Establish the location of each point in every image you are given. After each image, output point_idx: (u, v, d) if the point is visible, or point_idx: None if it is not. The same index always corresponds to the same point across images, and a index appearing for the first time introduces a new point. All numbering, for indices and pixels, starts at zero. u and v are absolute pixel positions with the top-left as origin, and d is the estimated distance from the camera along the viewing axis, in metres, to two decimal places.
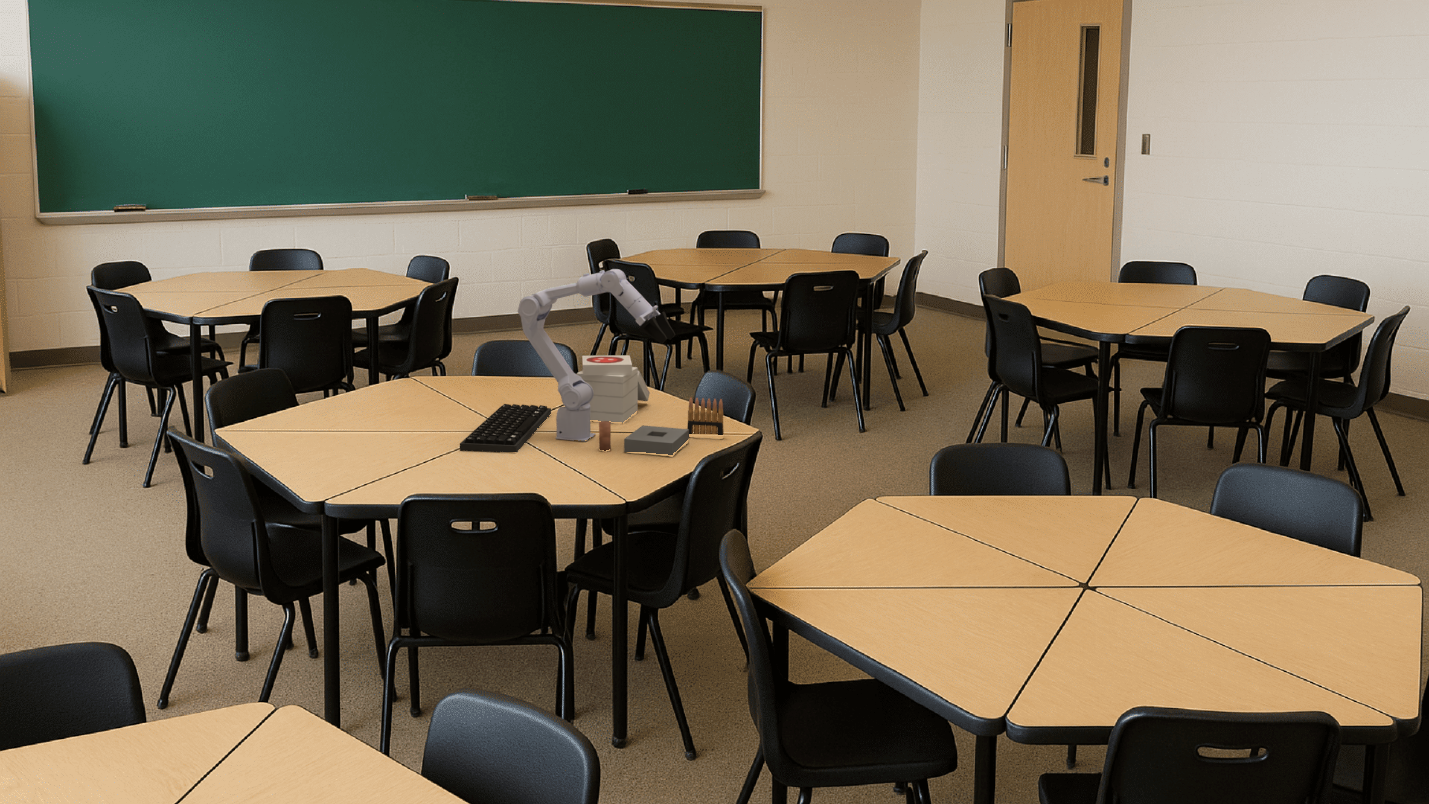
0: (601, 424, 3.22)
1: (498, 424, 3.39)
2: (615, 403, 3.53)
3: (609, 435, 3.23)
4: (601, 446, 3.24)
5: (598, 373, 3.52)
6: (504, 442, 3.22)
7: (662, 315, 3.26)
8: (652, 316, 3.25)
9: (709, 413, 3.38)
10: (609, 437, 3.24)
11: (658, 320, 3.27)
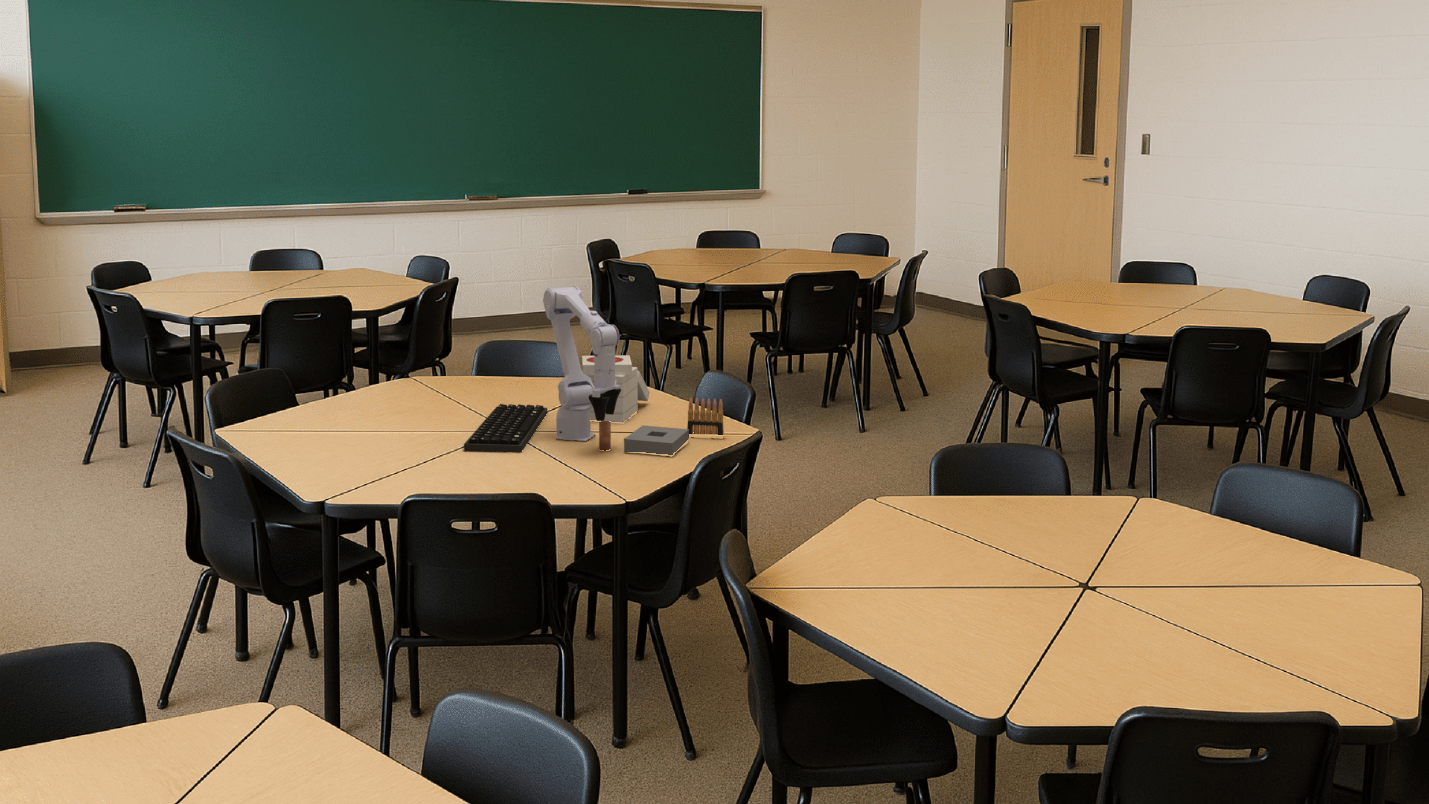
0: (601, 424, 3.22)
1: (499, 424, 3.39)
2: None
3: (609, 435, 3.23)
4: (601, 446, 3.24)
5: None
6: (508, 442, 3.23)
7: (617, 392, 3.25)
8: None
9: (709, 413, 3.38)
10: (609, 437, 3.24)
11: (610, 392, 3.25)
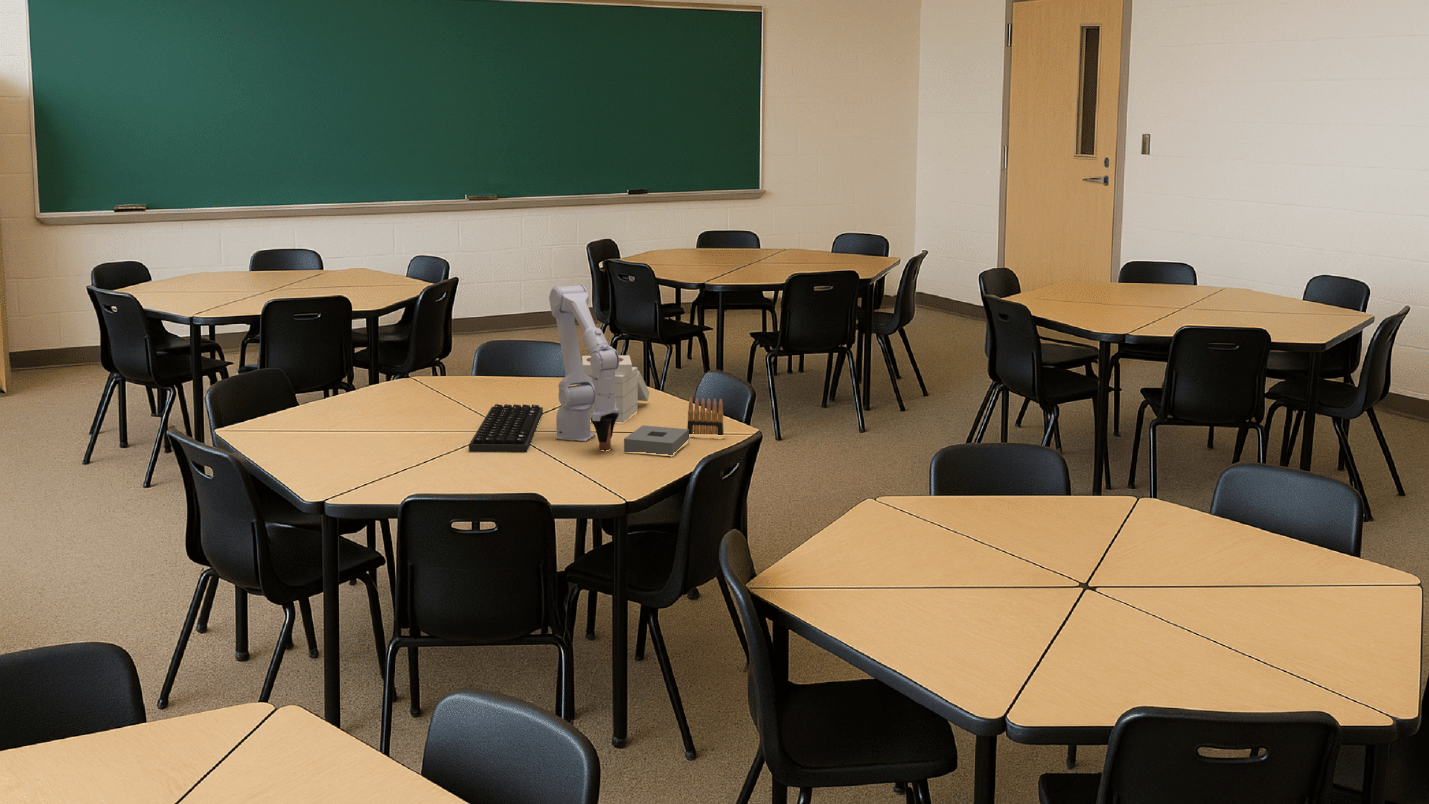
0: None
1: (499, 424, 3.39)
2: None
3: (609, 435, 3.23)
4: (601, 446, 3.24)
5: None
6: (513, 442, 3.23)
7: (614, 417, 3.24)
8: None
9: (709, 413, 3.38)
10: (609, 437, 3.24)
11: (608, 417, 3.25)
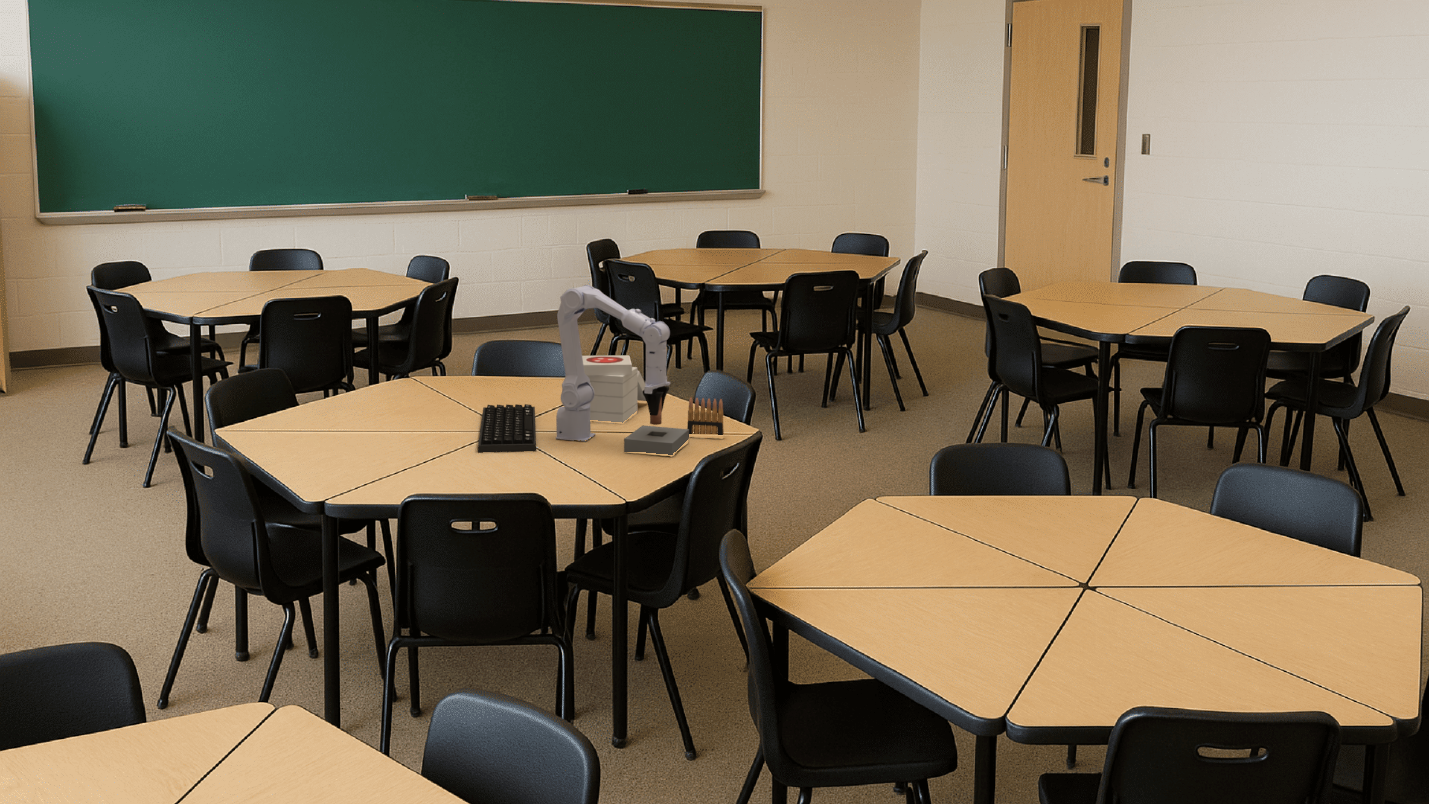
0: None
1: (501, 424, 3.39)
2: (615, 403, 3.53)
3: (660, 408, 3.25)
4: (652, 419, 3.25)
5: (598, 373, 3.52)
6: (522, 441, 3.24)
7: (665, 390, 3.26)
8: None
9: (709, 413, 3.38)
10: (660, 410, 3.25)
11: (659, 390, 3.26)
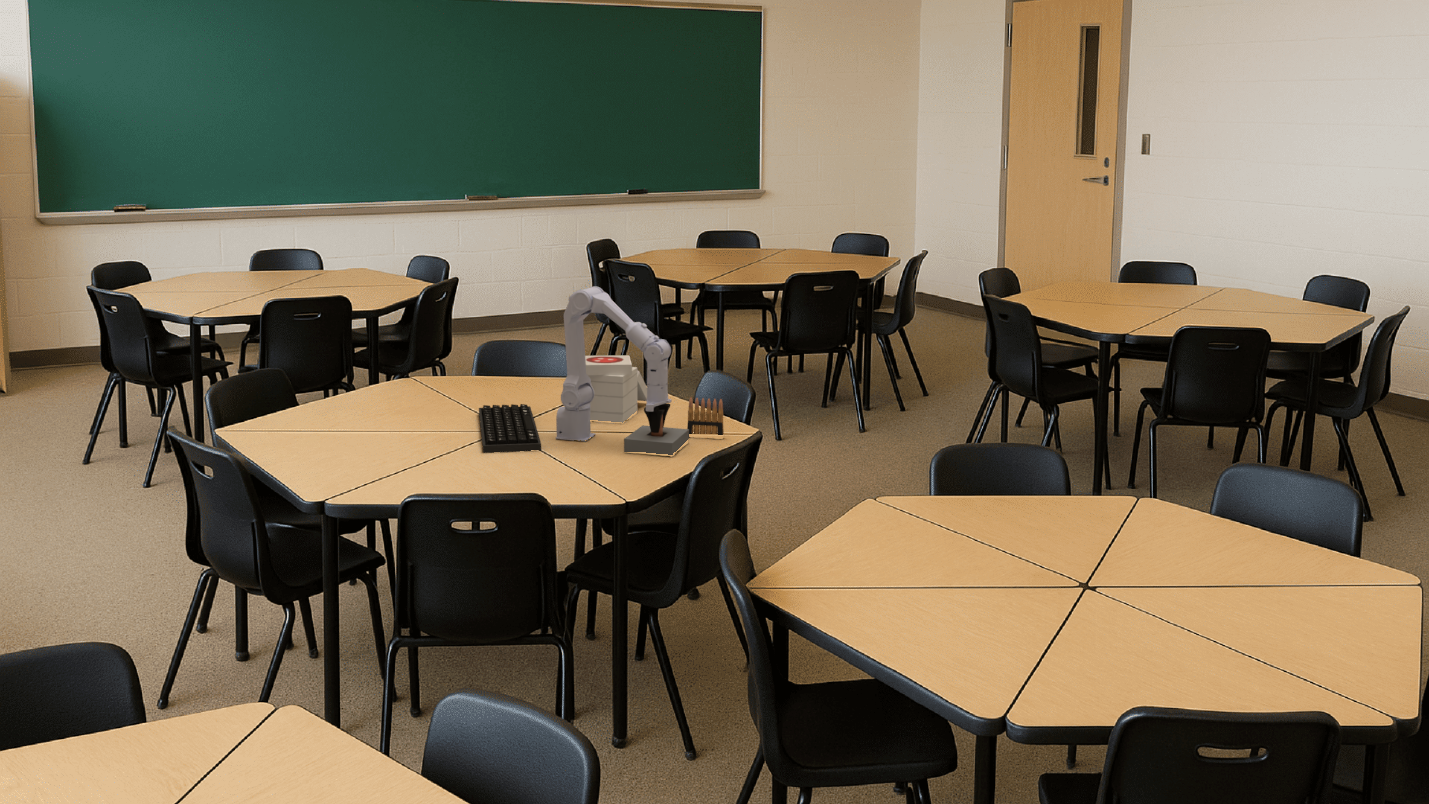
0: None
1: (502, 424, 3.38)
2: (615, 403, 3.53)
3: (662, 426, 3.26)
4: None
5: (598, 373, 3.52)
6: (526, 441, 3.24)
7: (666, 408, 3.27)
8: None
9: (709, 413, 3.38)
10: (661, 427, 3.26)
11: (660, 408, 3.28)
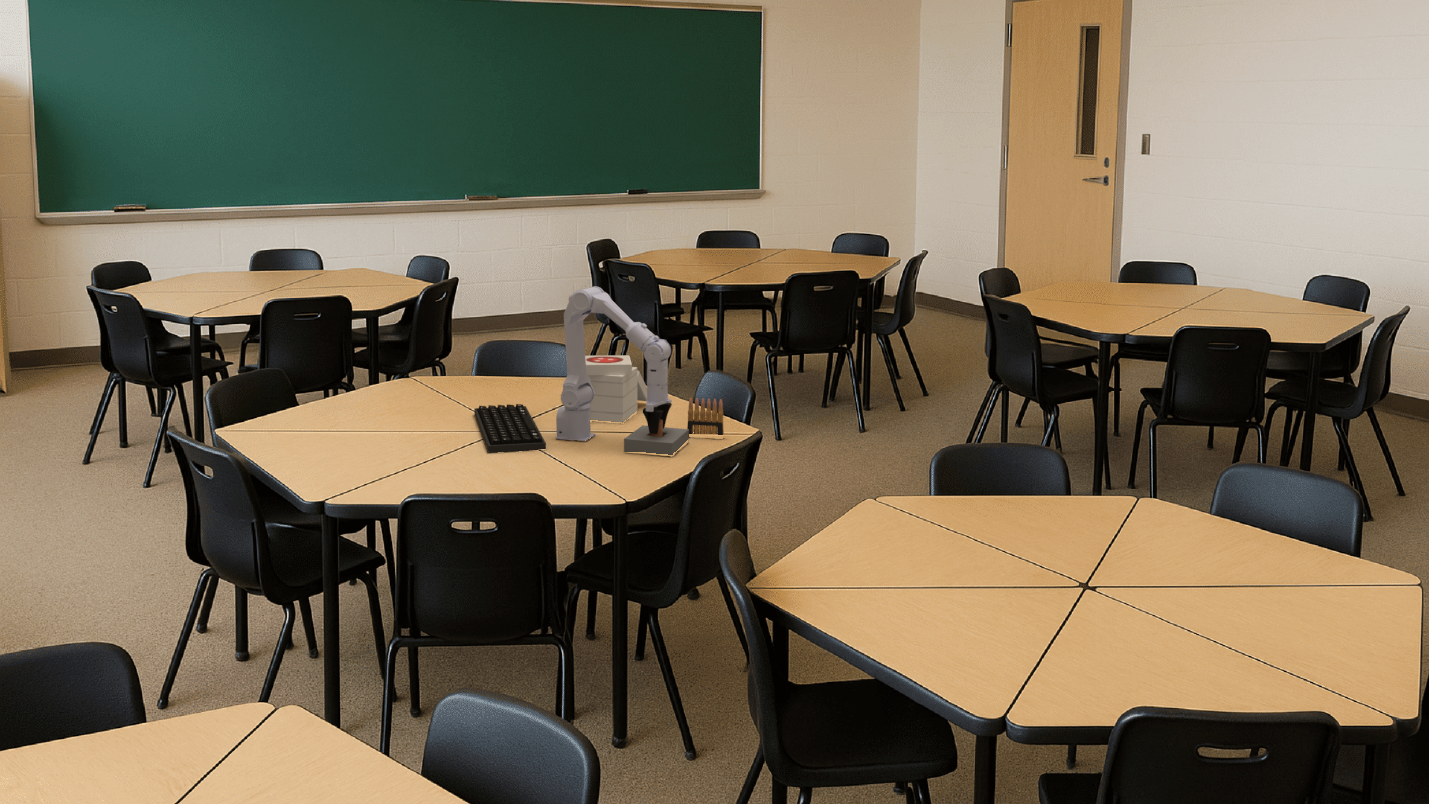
0: None
1: (503, 425, 3.38)
2: (615, 403, 3.53)
3: (662, 433, 3.27)
4: None
5: (598, 373, 3.52)
6: None
7: (668, 407, 3.28)
8: None
9: (709, 413, 3.38)
10: (661, 435, 3.27)
11: (661, 407, 3.29)
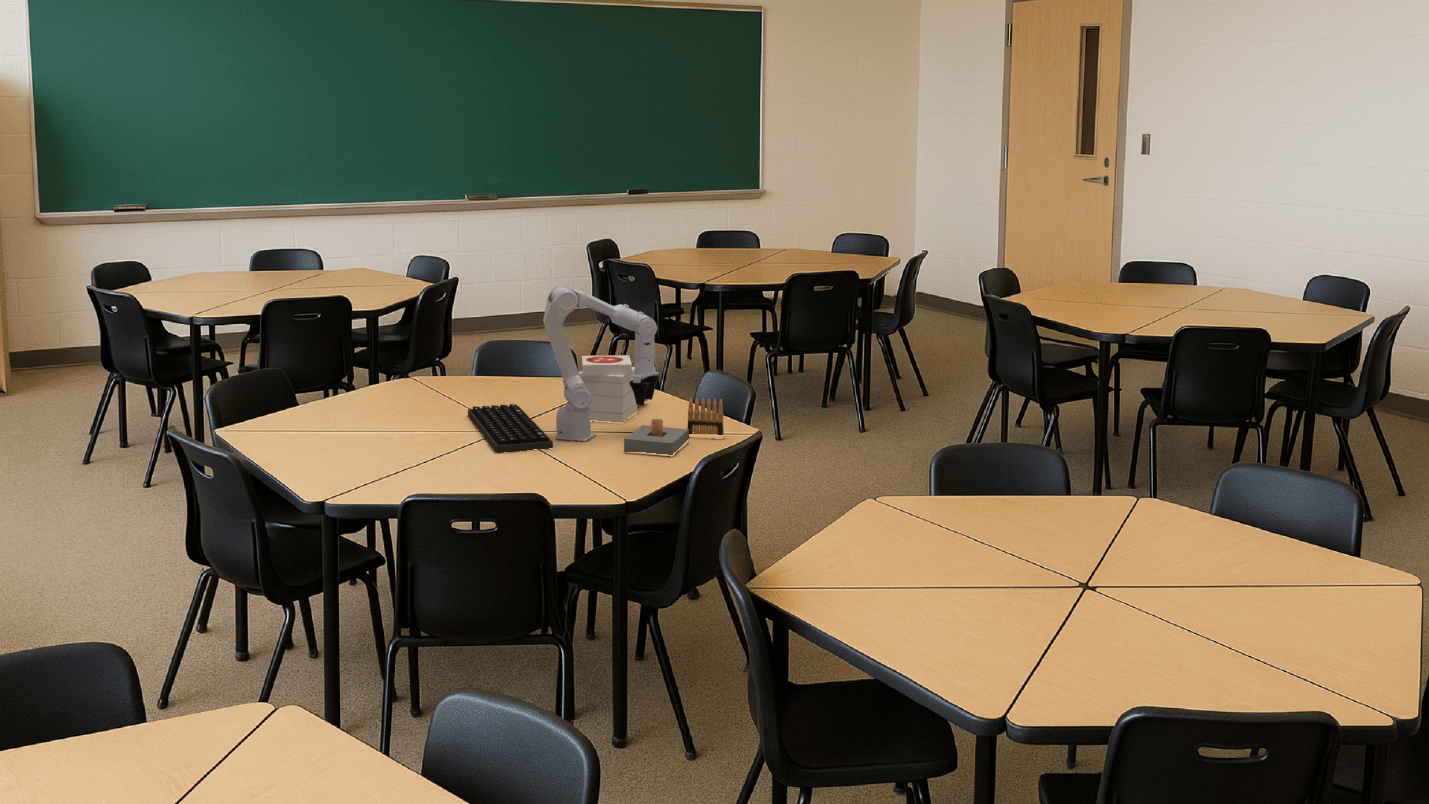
0: (654, 422, 3.25)
1: (504, 425, 3.38)
2: (615, 403, 3.53)
3: (662, 433, 3.27)
4: None
5: (598, 373, 3.52)
6: (537, 440, 3.26)
7: (655, 378, 3.43)
8: None
9: (709, 413, 3.38)
10: (661, 435, 3.27)
11: (649, 379, 3.44)
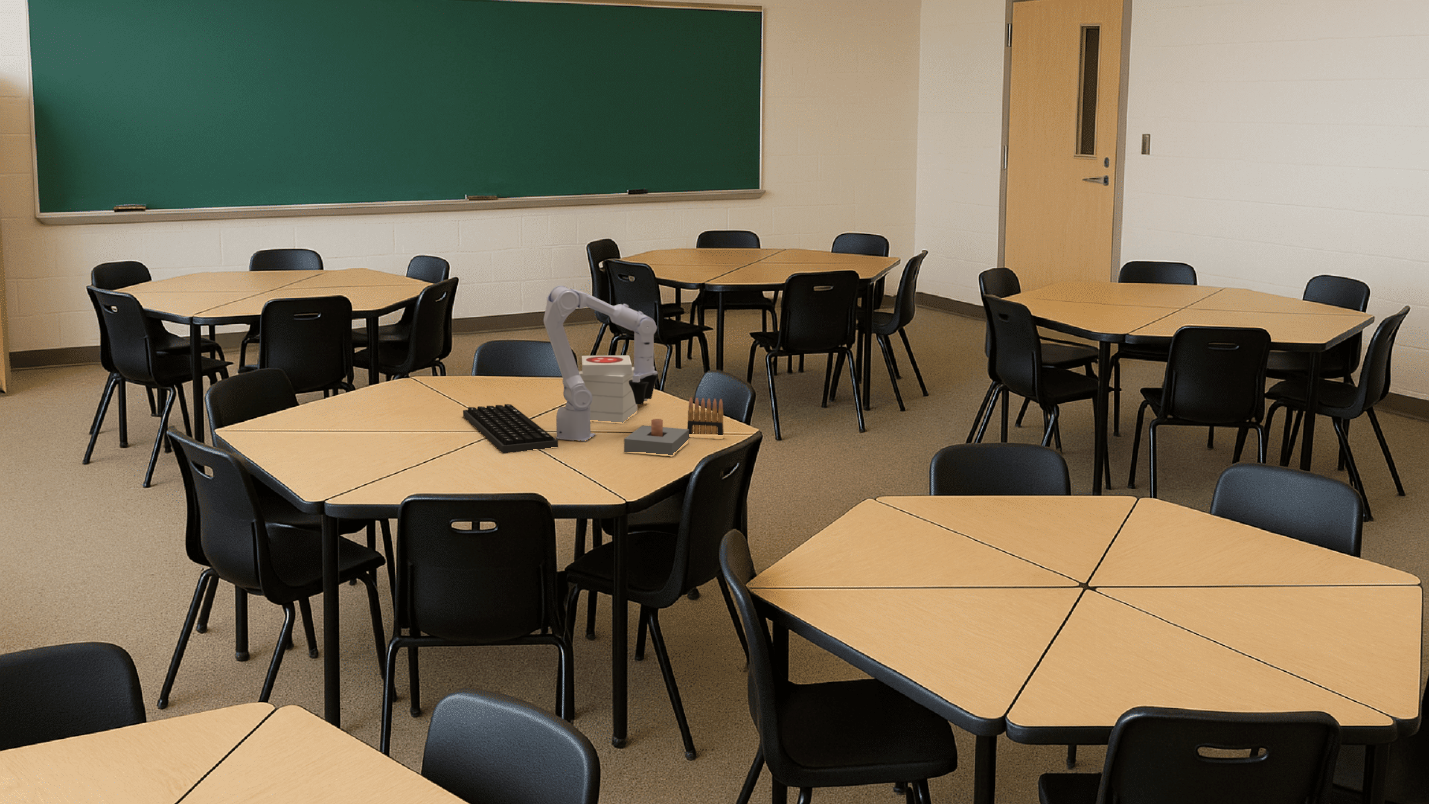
0: (654, 422, 3.25)
1: (505, 425, 3.38)
2: (615, 403, 3.53)
3: (662, 433, 3.27)
4: None
5: (598, 373, 3.52)
6: None
7: (654, 378, 3.44)
8: None
9: (709, 413, 3.38)
10: (661, 435, 3.27)
11: (648, 378, 3.45)
